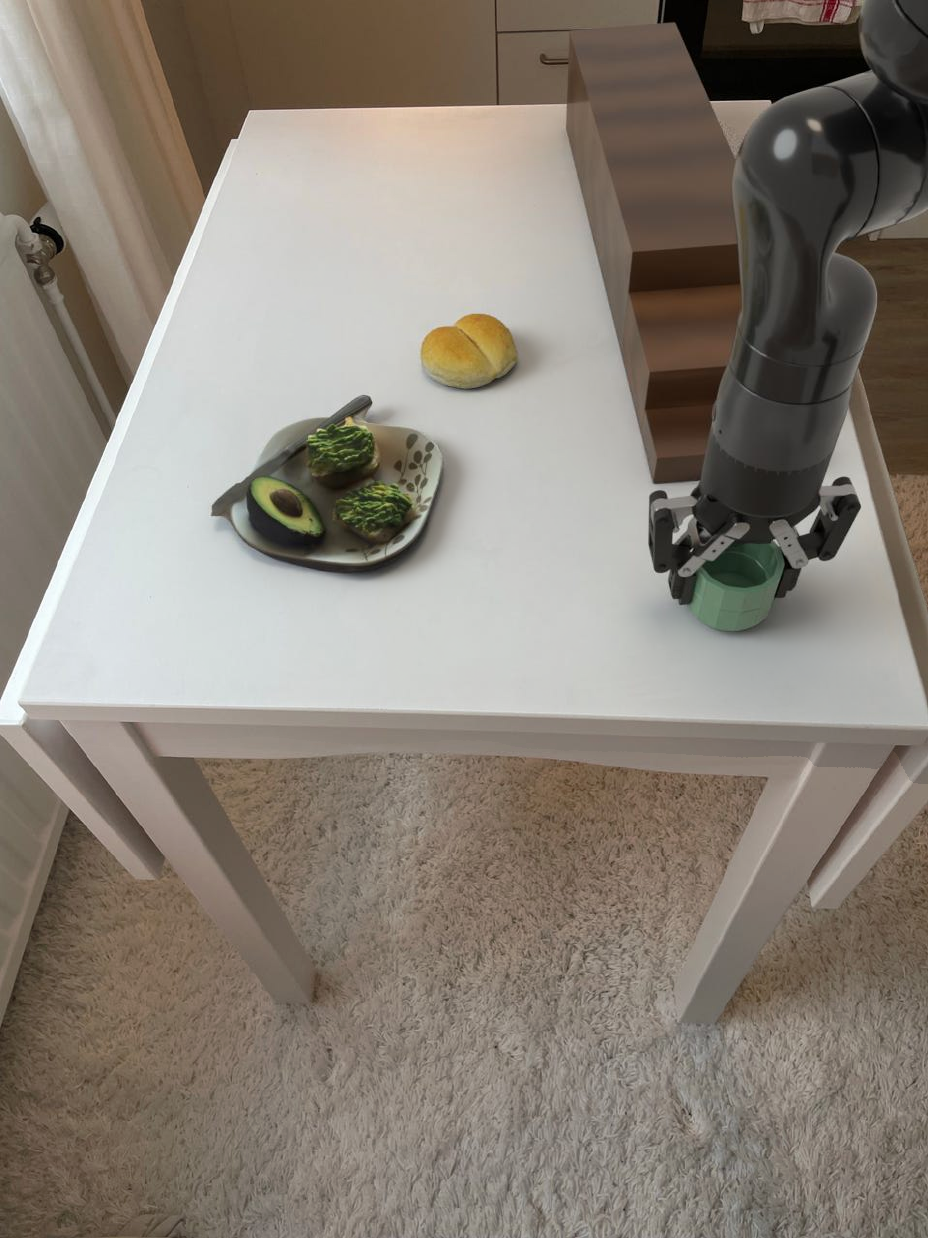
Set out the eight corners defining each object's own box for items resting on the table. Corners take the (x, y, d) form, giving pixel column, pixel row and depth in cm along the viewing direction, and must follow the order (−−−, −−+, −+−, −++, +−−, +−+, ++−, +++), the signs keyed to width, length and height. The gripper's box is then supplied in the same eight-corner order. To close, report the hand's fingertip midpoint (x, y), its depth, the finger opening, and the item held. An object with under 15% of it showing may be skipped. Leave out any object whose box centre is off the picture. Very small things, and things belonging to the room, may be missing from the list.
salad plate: (287, 397, 90) (277, 357, 86) (470, 426, 86) (468, 385, 82) (199, 550, 79) (183, 512, 75) (404, 590, 75) (398, 552, 71)
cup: (779, 582, 73) (793, 538, 69) (757, 646, 70) (771, 604, 66) (698, 557, 75) (707, 514, 71) (672, 619, 72) (681, 577, 68)
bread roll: (407, 357, 92) (403, 322, 89) (486, 325, 95) (485, 290, 91) (449, 405, 88) (446, 370, 85) (531, 370, 90) (532, 335, 87)
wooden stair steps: (794, 473, 81) (828, 368, 72) (652, 483, 81) (669, 380, 72) (663, 120, 117) (675, 21, 108) (565, 127, 117) (569, 30, 108)
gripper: (669, 476, 56) (641, 640, 70) (913, 458, 56) (838, 625, 69) (647, 393, 61) (625, 562, 74) (873, 375, 61) (810, 548, 74)
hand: (729, 592), depth 72 cm, fingers closed on cup, 6 cm apart
